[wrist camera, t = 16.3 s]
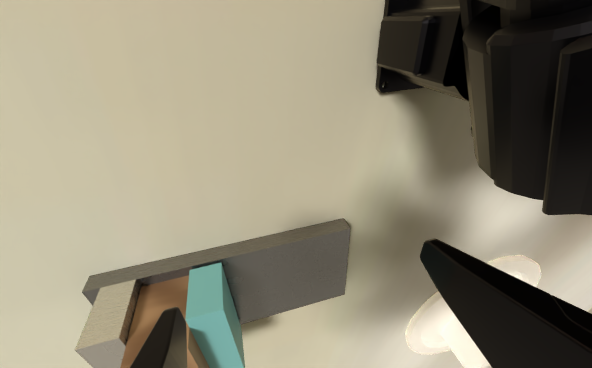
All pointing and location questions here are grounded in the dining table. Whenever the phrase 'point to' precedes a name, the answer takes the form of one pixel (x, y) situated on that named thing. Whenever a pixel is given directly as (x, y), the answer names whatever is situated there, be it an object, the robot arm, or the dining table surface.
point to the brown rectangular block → (148, 312)
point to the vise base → (240, 277)
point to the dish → (446, 327)
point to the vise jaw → (214, 317)
